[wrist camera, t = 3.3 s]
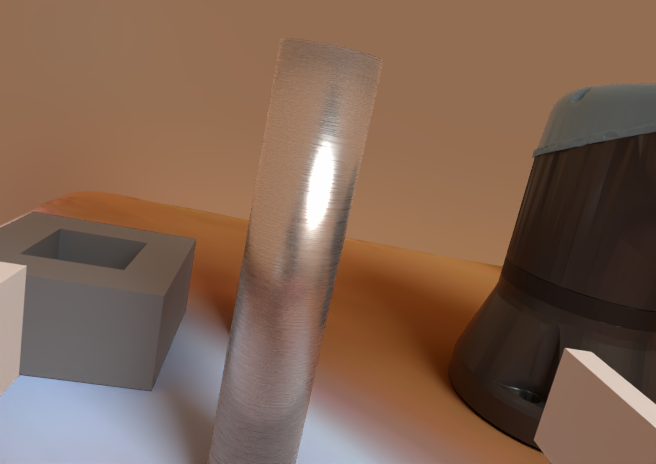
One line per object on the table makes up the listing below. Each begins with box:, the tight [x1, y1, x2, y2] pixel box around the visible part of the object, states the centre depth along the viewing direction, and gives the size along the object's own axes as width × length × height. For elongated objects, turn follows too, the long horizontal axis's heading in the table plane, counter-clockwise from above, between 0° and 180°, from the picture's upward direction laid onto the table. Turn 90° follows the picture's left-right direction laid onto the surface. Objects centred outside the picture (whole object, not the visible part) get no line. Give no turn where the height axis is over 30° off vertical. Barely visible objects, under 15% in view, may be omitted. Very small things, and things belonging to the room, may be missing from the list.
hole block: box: [0, 212, 196, 391], centre depth 35 cm, size 12×12×6 cm
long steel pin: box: [208, 38, 383, 464], centre depth 22 cm, size 4×4×20 cm
